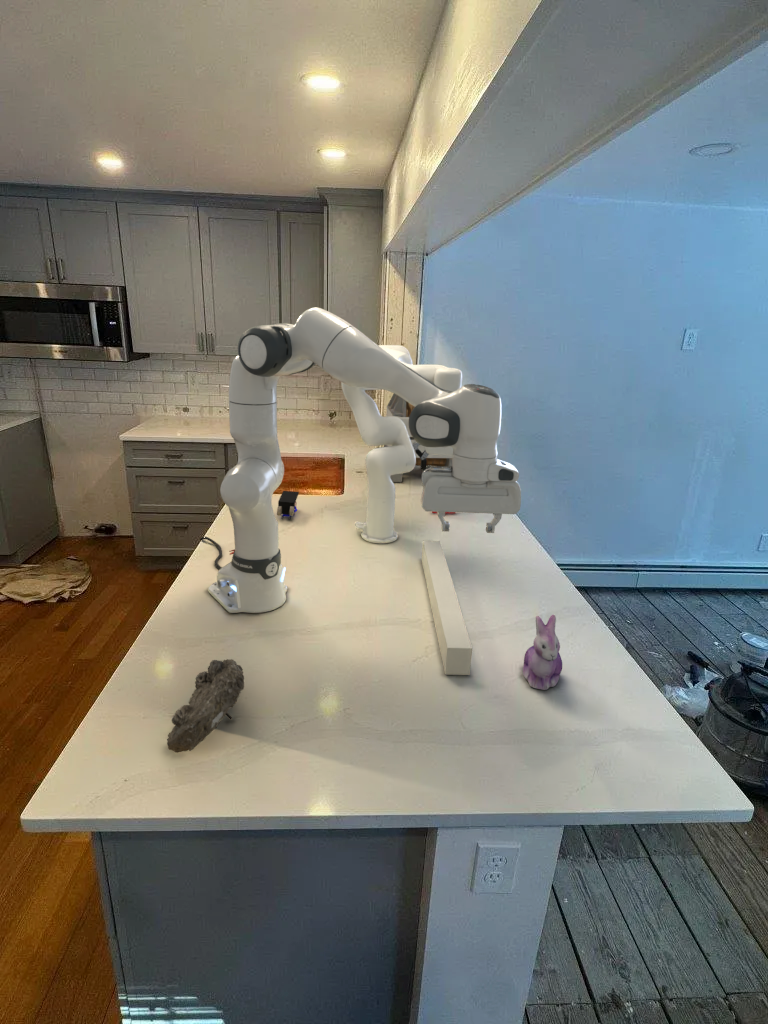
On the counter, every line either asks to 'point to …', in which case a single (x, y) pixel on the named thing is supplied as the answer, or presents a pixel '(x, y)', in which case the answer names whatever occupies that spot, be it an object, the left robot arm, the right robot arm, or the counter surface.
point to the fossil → (206, 705)
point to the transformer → (403, 411)
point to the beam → (446, 611)
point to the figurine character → (287, 504)
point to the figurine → (543, 656)
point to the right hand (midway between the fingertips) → (440, 472)
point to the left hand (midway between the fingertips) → (467, 531)
